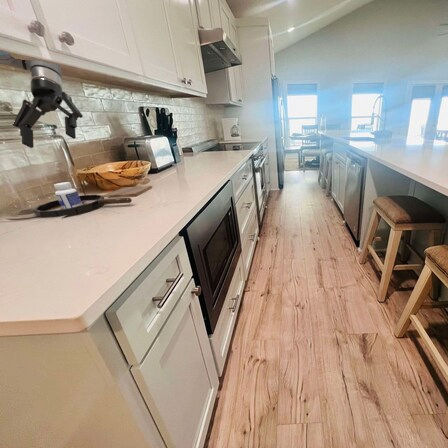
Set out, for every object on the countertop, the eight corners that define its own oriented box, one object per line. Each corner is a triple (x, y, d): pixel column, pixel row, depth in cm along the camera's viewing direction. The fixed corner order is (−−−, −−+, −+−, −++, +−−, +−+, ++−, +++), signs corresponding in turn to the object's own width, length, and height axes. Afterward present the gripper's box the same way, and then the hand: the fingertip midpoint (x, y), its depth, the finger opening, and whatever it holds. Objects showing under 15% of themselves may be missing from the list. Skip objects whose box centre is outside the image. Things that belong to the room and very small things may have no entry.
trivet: (104, 198, 92) (103, 195, 91) (123, 189, 103) (122, 187, 102) (136, 196, 92) (135, 193, 92) (152, 188, 103) (151, 185, 103)
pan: (22, 220, 73) (17, 211, 72) (68, 202, 88) (65, 195, 87) (117, 214, 74) (113, 206, 72) (146, 198, 89) (144, 190, 88)
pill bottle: (86, 205, 84) (75, 180, 80) (81, 210, 80) (69, 183, 76) (66, 208, 82) (55, 182, 78) (60, 213, 78) (47, 186, 74)
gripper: (93, 87, 86) (97, 138, 82) (21, 102, 85) (22, 155, 81) (74, 69, 79) (78, 125, 75) (-5, 85, 78) (-5, 143, 73)
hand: (49, 141), depth 78 cm, fingers open, 13 cm apart
